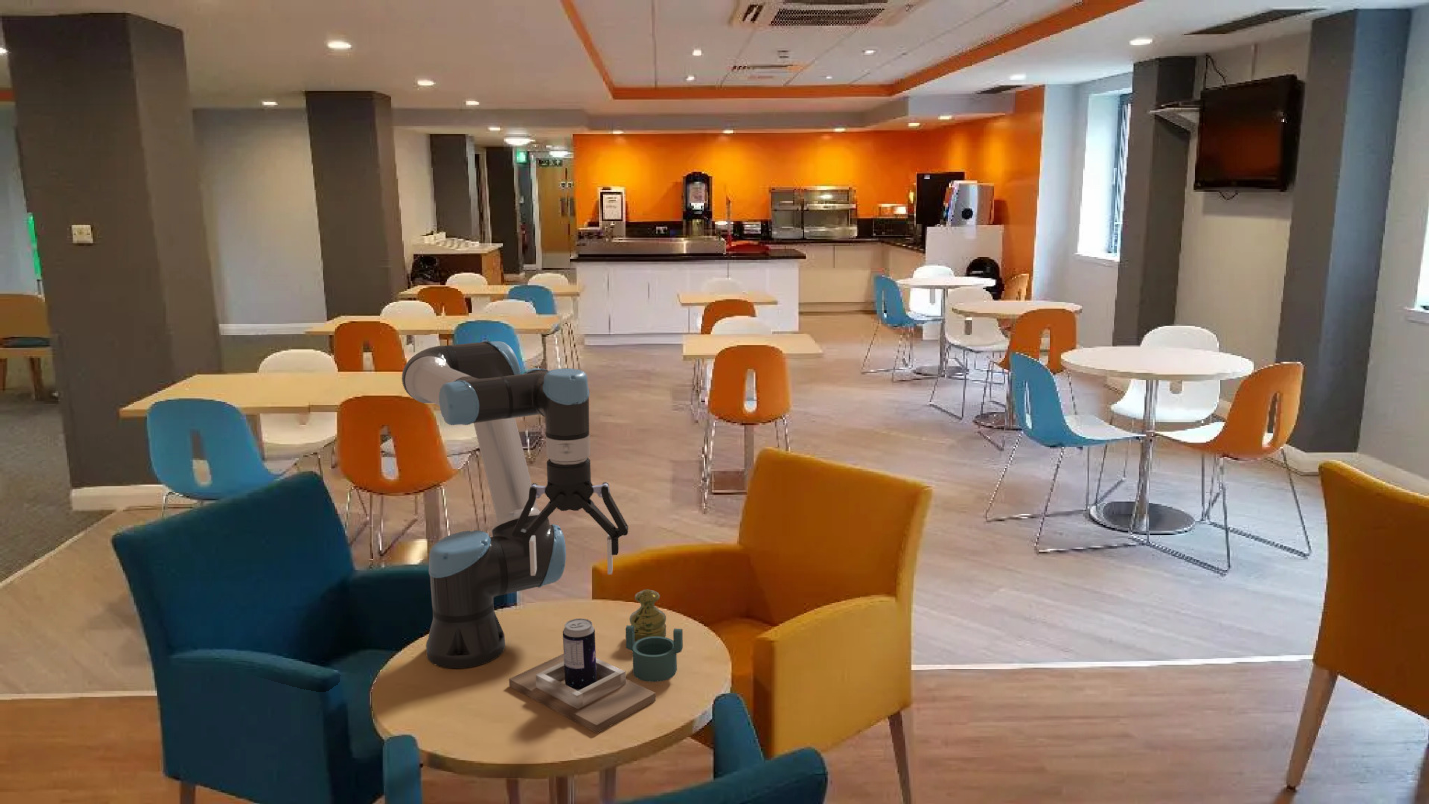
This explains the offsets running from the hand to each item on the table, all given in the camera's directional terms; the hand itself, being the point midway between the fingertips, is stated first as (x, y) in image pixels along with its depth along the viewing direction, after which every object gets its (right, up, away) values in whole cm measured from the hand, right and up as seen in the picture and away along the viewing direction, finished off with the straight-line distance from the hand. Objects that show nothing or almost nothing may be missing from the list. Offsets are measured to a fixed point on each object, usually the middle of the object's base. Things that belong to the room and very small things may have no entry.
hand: (572, 572), depth 173 cm
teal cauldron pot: (+14, -21, +11) cm, 27 cm away
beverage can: (+1, -21, +2) cm, 21 cm away
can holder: (+1, -22, +2) cm, 23 cm away
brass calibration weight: (+12, -18, +24) cm, 32 cm away
